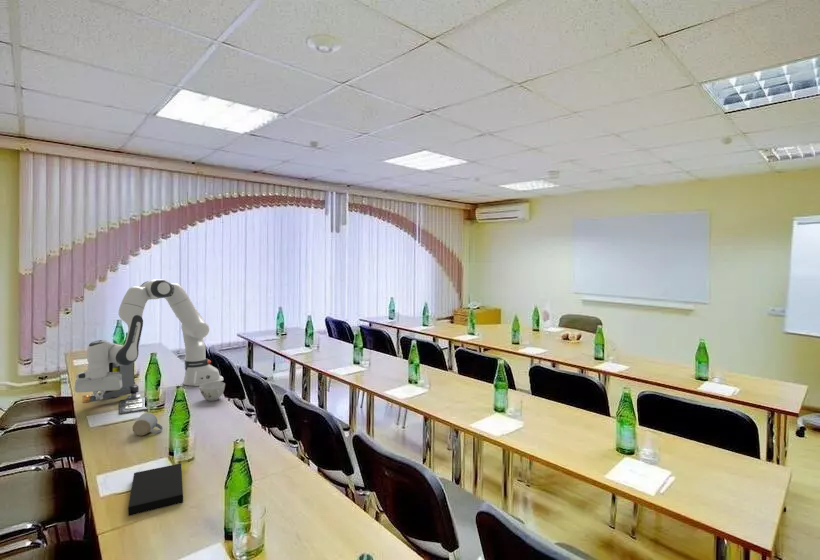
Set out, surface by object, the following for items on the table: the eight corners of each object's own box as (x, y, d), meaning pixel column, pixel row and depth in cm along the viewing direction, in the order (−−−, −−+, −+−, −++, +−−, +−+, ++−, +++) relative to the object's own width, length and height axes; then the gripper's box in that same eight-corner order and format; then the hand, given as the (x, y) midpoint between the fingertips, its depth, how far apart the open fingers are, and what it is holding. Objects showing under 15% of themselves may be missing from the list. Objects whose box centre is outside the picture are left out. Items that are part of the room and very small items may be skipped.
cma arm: (136, 390, 234) (136, 384, 234) (139, 391, 232) (139, 386, 232) (81, 402, 215) (81, 395, 215) (83, 403, 212) (83, 397, 212)
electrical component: (117, 398, 231) (116, 361, 230) (98, 397, 231) (97, 361, 230) (138, 388, 248) (137, 354, 247) (121, 388, 248) (120, 354, 247)
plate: (147, 397, 231) (147, 395, 231) (148, 409, 213) (148, 407, 212) (120, 401, 224) (120, 399, 224) (119, 414, 206) (119, 412, 206)
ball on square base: (140, 395, 236) (140, 390, 235) (140, 398, 231) (140, 393, 230) (127, 396, 232) (127, 392, 232) (127, 400, 227) (127, 395, 227)
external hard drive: (128, 517, 125) (128, 507, 125) (134, 481, 145) (133, 472, 145) (183, 503, 132) (182, 494, 132) (181, 471, 152) (181, 463, 152)
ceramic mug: (131, 437, 180) (131, 419, 179) (138, 430, 188) (138, 412, 187) (159, 435, 182) (159, 418, 182) (165, 428, 190) (165, 411, 190)
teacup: (196, 399, 229) (196, 384, 229) (220, 394, 238) (220, 380, 238) (206, 406, 219) (205, 390, 218) (230, 400, 227) (230, 385, 227)
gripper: (124, 369, 221) (125, 396, 222) (79, 372, 216) (80, 398, 217) (118, 373, 215) (119, 399, 216) (72, 375, 210) (73, 402, 211)
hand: (99, 399), depth 216 cm, fingers closed
